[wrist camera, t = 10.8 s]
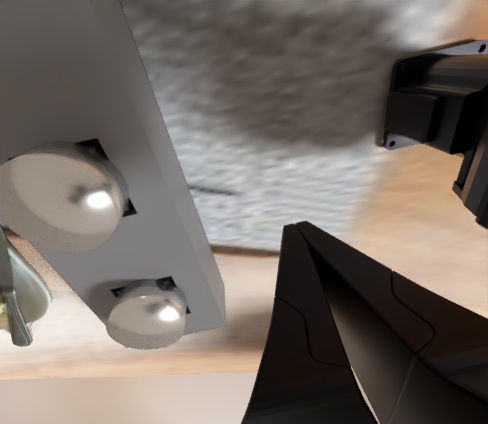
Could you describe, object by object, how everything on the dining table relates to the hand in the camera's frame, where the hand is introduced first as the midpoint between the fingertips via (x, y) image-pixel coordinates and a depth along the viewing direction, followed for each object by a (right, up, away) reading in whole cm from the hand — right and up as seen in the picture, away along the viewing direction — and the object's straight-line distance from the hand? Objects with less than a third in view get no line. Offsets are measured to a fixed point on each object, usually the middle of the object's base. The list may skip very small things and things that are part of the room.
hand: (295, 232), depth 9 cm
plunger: (-10, -4, +15) cm, 19 cm away
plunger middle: (-12, +5, +9) cm, 16 cm away
